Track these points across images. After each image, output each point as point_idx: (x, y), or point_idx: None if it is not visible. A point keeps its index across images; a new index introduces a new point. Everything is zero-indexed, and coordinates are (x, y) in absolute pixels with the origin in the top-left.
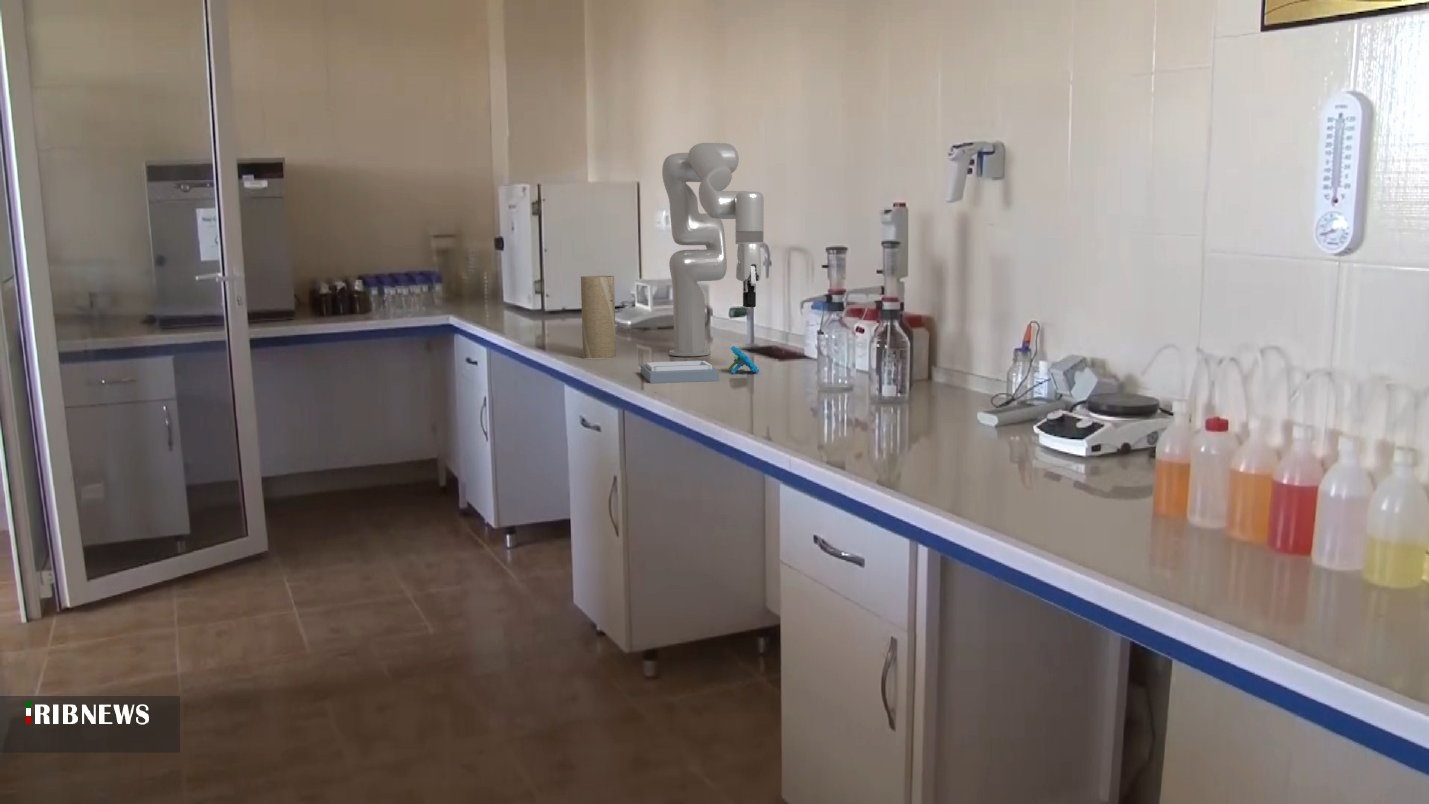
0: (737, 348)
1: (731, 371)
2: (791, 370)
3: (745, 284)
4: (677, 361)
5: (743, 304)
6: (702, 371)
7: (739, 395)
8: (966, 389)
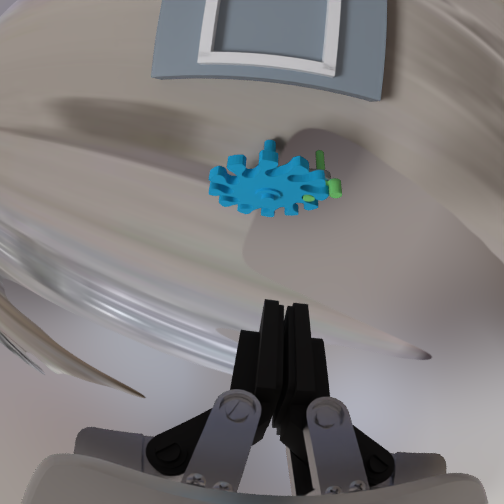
0: (236, 163)
1: (269, 140)
2: (287, 299)
3: (226, 461)
4: (340, 2)
5: (295, 311)
6: (160, 34)
7: (6, 110)
8: (63, 369)
